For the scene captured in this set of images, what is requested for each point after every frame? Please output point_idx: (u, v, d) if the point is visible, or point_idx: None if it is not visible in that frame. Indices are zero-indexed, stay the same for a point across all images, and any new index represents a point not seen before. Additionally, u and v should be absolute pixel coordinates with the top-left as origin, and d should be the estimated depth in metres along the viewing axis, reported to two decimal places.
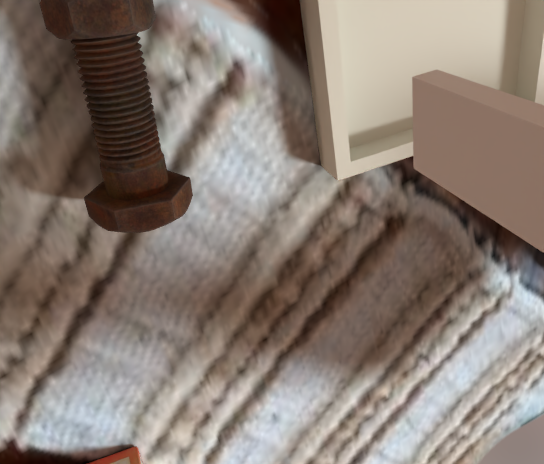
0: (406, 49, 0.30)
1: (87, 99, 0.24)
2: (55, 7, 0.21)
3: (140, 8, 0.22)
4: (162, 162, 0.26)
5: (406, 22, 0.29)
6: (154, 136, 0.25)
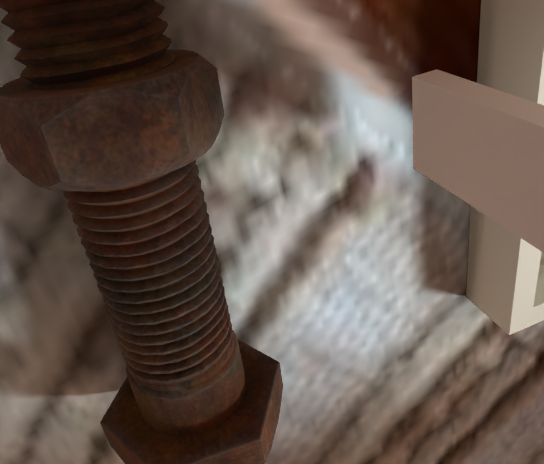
0: None
1: (98, 278, 0.12)
2: (17, 127, 0.09)
3: (200, 110, 0.10)
4: (237, 358, 0.14)
5: None
6: (224, 322, 0.14)
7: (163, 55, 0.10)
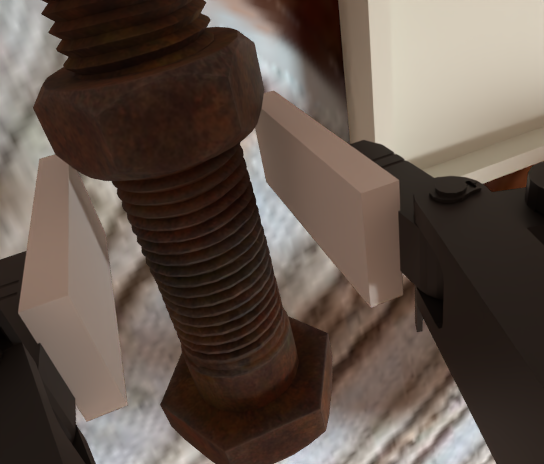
0: (463, 63, 0.25)
1: (151, 264, 0.12)
2: (68, 121, 0.09)
3: (245, 87, 0.10)
4: (290, 333, 0.15)
5: (465, 31, 0.24)
6: (275, 298, 0.14)
7: (203, 34, 0.10)
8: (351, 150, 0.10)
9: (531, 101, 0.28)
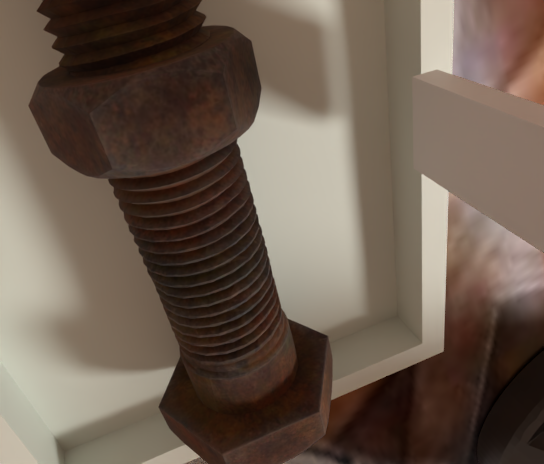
0: None
1: (148, 264, 0.12)
2: (62, 118, 0.09)
3: (241, 84, 0.10)
4: (289, 335, 0.14)
5: None
6: (274, 299, 0.14)
7: (199, 31, 0.10)
8: None
9: (306, 316, 0.19)
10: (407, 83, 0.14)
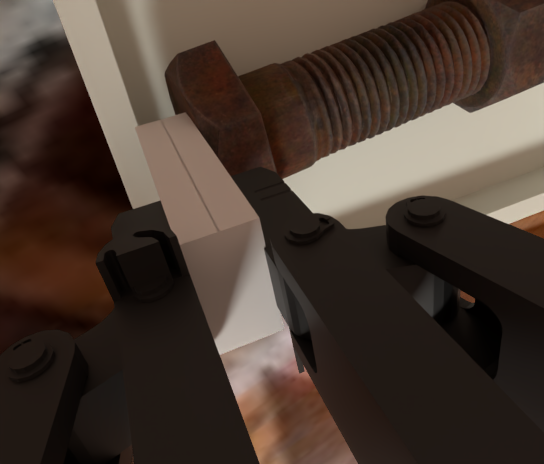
0: (277, 48, 0.17)
1: (389, 33, 0.15)
2: None
3: None
4: (306, 168, 0.16)
5: (319, 37, 0.17)
6: (345, 147, 0.16)
7: None
8: (229, 182, 0.10)
9: None
10: None
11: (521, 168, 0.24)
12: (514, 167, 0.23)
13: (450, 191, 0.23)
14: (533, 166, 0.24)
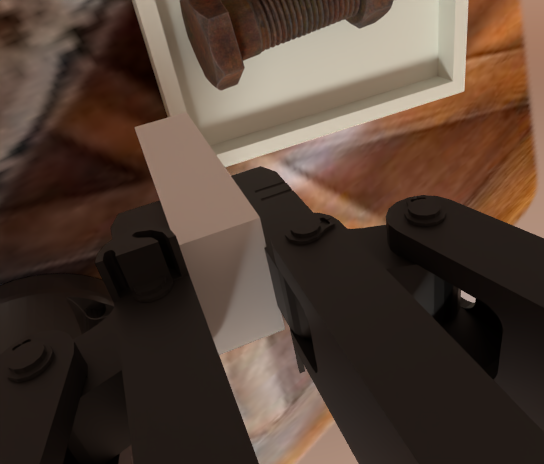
0: None
1: None
2: None
3: (377, 15, 0.29)
4: (258, 54, 0.28)
5: None
6: (280, 42, 0.28)
7: None
8: (229, 182, 0.10)
9: (206, 85, 0.31)
10: (339, 112, 0.34)
11: (408, 79, 0.36)
12: (403, 78, 0.36)
13: (359, 92, 0.35)
14: (417, 79, 0.36)
